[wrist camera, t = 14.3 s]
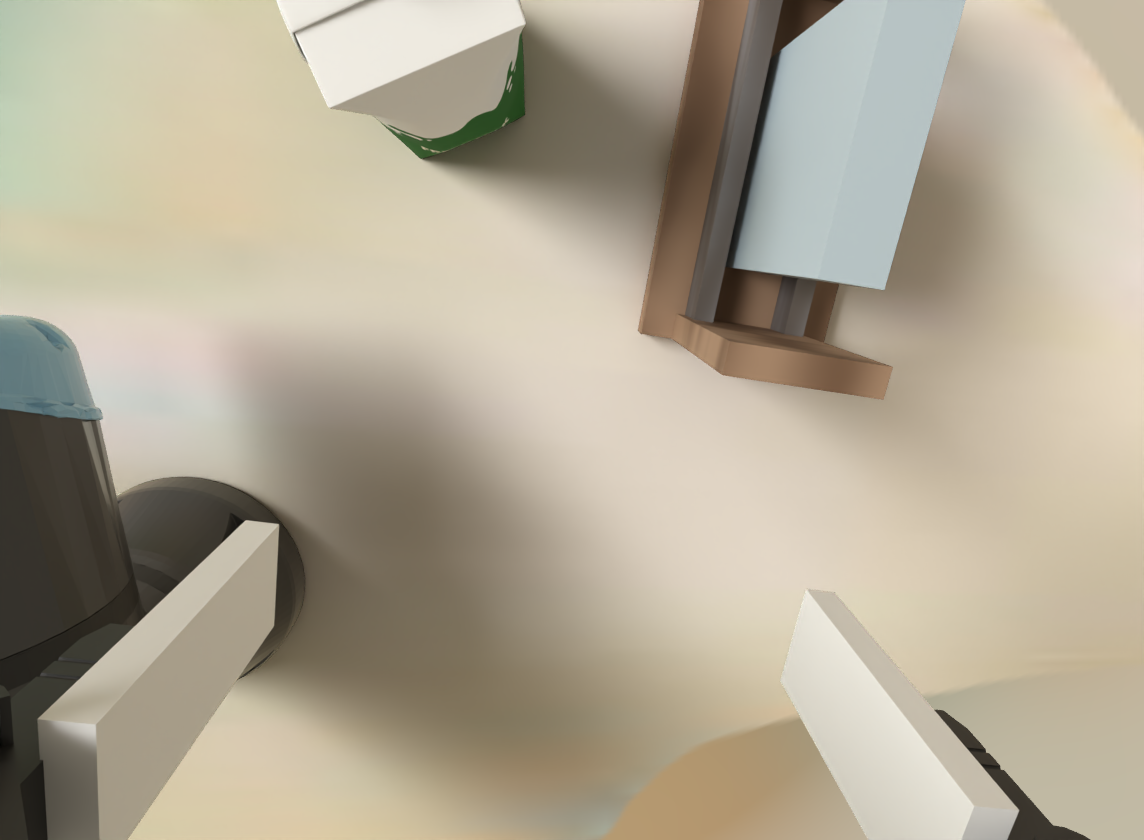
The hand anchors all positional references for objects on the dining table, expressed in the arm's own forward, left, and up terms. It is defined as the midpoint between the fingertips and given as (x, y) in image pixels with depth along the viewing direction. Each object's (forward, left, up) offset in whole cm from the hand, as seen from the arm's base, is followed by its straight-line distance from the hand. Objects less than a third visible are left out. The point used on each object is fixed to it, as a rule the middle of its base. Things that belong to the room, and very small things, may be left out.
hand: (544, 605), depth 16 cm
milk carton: (-8, +17, -29) cm, 34 cm away
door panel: (+12, +15, -27) cm, 33 cm away
